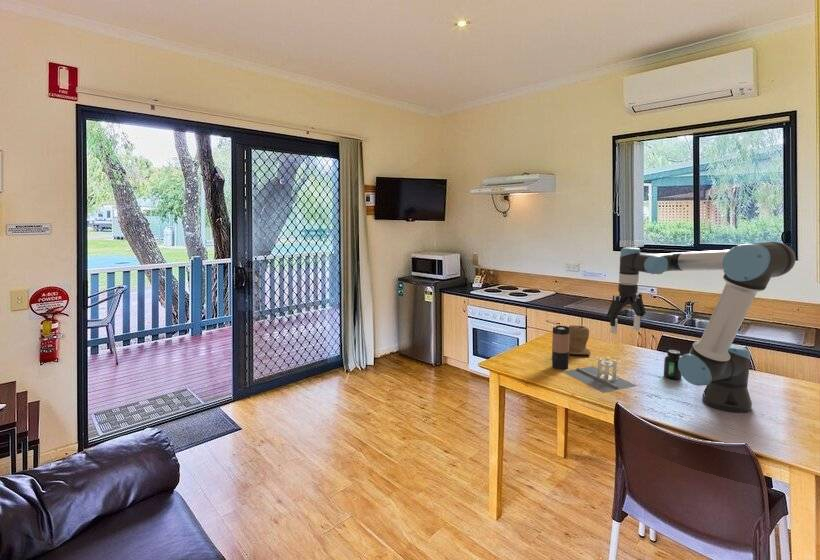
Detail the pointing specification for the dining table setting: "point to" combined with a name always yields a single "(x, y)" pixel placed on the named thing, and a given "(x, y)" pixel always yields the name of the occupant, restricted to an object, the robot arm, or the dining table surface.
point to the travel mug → (560, 347)
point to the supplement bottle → (672, 365)
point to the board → (598, 379)
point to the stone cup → (578, 340)
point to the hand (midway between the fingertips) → (625, 331)
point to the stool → (607, 369)
